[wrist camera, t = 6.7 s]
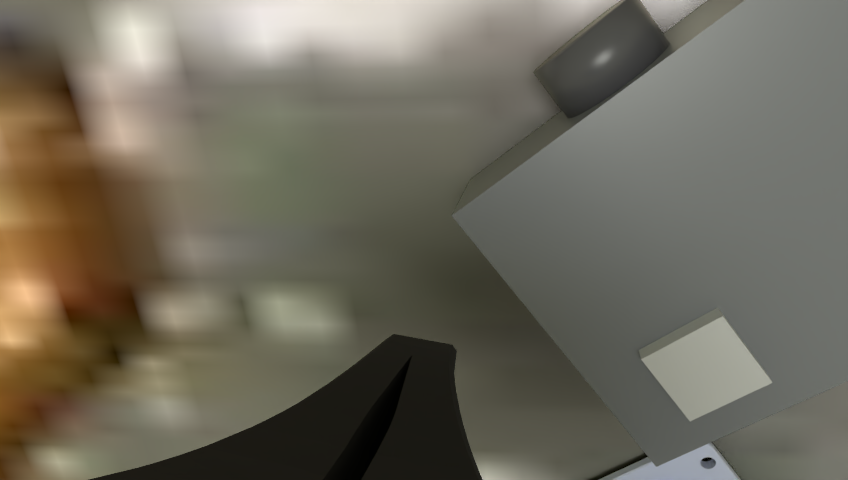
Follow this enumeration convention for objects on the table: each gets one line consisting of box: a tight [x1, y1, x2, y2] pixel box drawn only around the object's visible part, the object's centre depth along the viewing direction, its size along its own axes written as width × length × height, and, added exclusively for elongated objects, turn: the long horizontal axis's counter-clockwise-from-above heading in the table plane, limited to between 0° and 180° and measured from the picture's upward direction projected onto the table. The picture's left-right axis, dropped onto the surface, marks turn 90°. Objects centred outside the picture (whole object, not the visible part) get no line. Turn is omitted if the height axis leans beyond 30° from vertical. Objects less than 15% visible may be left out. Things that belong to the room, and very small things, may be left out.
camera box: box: [452, 0, 848, 467], centre depth 16 cm, size 12×11×4 cm
